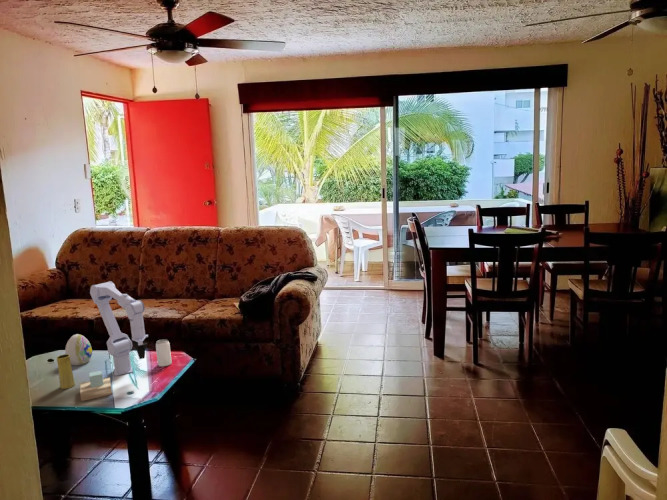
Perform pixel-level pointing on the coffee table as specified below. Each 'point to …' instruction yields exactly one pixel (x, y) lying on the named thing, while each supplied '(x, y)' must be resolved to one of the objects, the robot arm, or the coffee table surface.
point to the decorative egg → (78, 349)
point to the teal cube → (96, 379)
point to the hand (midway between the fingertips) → (141, 356)
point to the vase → (65, 371)
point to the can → (163, 353)
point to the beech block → (95, 390)
